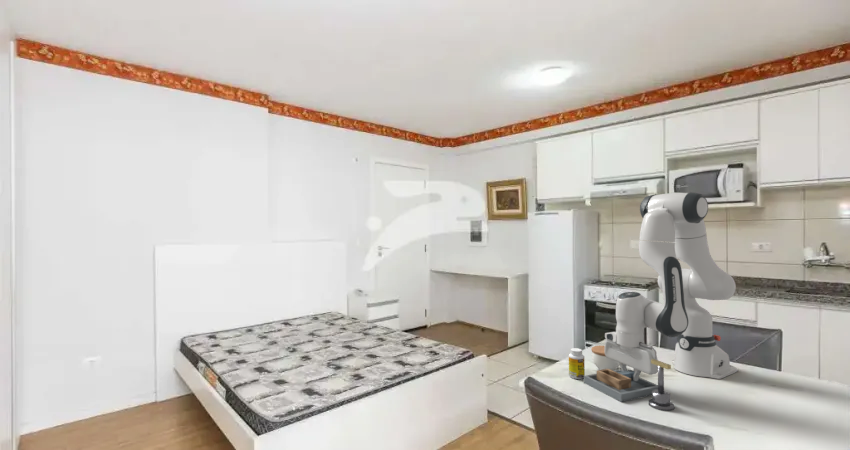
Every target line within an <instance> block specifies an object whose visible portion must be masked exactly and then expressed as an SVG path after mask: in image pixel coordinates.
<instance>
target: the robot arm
mask: <svg viewBox="0 0 850 450" xmlns="http://www.w3.org/2000/svg"><path fill="white" fill-rule="evenodd" d="M708 202H709V201H708V200H707V198H706V197H705V196H704V195H703V194H701V193H698V192H691V191H690V192H670V193H661V194H660V193H659V194H651V195H648V196H645V197H644V198H643V199H642V201H641V202H640V205H639V213H640V216H641V217H642V221H641V224H640V231H639V237H638V238H639V240H638V254H639V257H640V259H641V261H642V262H644V264H646V265H647V266H648V267H650V268H651V269H652V270H654V271H655V272H656V273H657V274H658V276H657V285H658V287H659V289H660V290H661V291H662V299H663V300H662V301H663V302H662V303H661V302H660V301H655V300H652V299H649V298H647V297H645V296H643V294H642V293H640V292H637V291H625V292H623V293H620V294H619V295H618V296H617V299H616V303H615V319H616V326H615V331H611V332H605V333H604V338H605V340H604V346H605V355H606V357H607V358H609V359H612V360H614V361H617V362H619V363H620V365H619V368H620V369H621V370H622V371H627V370H628V368H627V367H629V368H632V369H633V371H635V373H634V375H631V377H632V378H631V379H632V380H634V381H638V380H639V376H640V375H641V373H644V374H647V375H651V376H652V375H656V374H658V366H657V365H655V364H652V363H651V359H655V360H658V355H657V351H656V349H655V348H654V347H653V345H650V344H646V343H645V329H646V328H649V329H650V330H653V331H656V332H659V333H660V334H661V335H664V336H666V337H669V338H676V343H675V351H674V359H673V360H671V361H672V362H671V363H672V365H673V368H674V370H676V371H678V372H680V373H682V374H686V375H690V376H694V377H695V376H696V377H702V378H710V379H711V378H712V379H715V380H717V379H718V380H721V379H723V378H725V377H728V376H730V375H732V374H735V373H737V372H738V371H739V370H738V367H736V366H734V365H732V364H731V363H730V361H731V360H730V357H729V356H730V355H729V354H728V353H727V352H725V350H723V349H722V348H721V347H719V346H718V345H717V342H720V341H721V339H722V337H721V335H718V334H714V333H713V316H712V314H711V312H709V310H707V309H706V308H703V307H702V306H701V305H699V303H698V302H697V299H701V300H707V301H708V300H709V301H726V300H729V299H731V298H732V297H733V296H734V294H735V293H736V289H737V288H736V287H737V286H736V285H737V284H736V282H735V279H734V277H732V276H731V274H729V273H727V272H726V271H725V270H723V268H720V266H718V264H717V263H716V261H715V260H714V259H713V257H712V255H711V253H710V249H709V243H708V236H707V229H706V224H705V221H704V219H705V218H706V216H707V214H708V211H709V203H708ZM680 261H681V262H683V263H685V264H686V265H687V266H688V267H689V268H685V267H684V268H682V265H681V263H680ZM716 341H717V342H716ZM658 361H659V360H658Z"/></svg>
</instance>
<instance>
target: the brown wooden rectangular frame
mask: <svg viewBox="0 0 850 450" xmlns="http://www.w3.org/2000/svg"><path fill="white" fill-rule="evenodd" d="M634 373H635V371H634V369H633V370H632V369H627V371H621V372H615V371H612V370H610V369H603V370H599V369H598V370H596V374H597V379H598V380H600V381H602V382H604V383H606V384H608V385H610V386H612V387H614V388H616V389H618V390H621V389H626V388H631V382H632V381H634V380H632V379H631V378H632V377H631V375H634Z"/></svg>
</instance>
